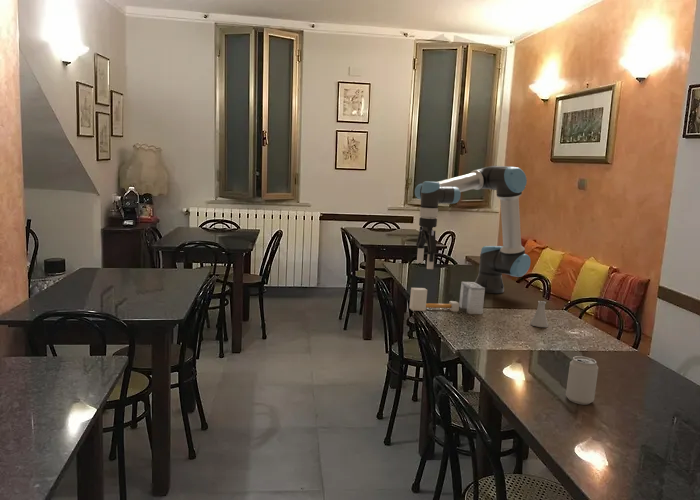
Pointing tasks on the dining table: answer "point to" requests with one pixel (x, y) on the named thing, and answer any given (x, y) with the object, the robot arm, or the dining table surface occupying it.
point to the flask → (540, 316)
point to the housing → (472, 297)
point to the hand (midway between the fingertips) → (424, 265)
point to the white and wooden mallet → (419, 302)
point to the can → (582, 380)
